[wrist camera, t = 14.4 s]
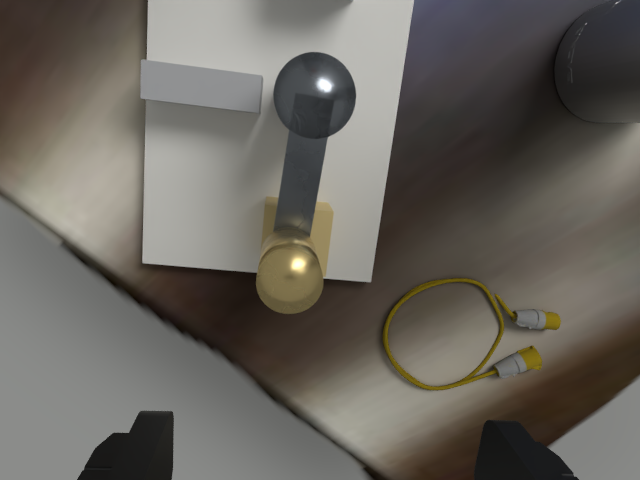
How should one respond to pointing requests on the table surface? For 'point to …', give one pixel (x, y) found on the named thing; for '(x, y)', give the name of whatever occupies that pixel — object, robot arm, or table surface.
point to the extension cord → (510, 364)
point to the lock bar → (302, 176)
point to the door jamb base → (262, 128)
